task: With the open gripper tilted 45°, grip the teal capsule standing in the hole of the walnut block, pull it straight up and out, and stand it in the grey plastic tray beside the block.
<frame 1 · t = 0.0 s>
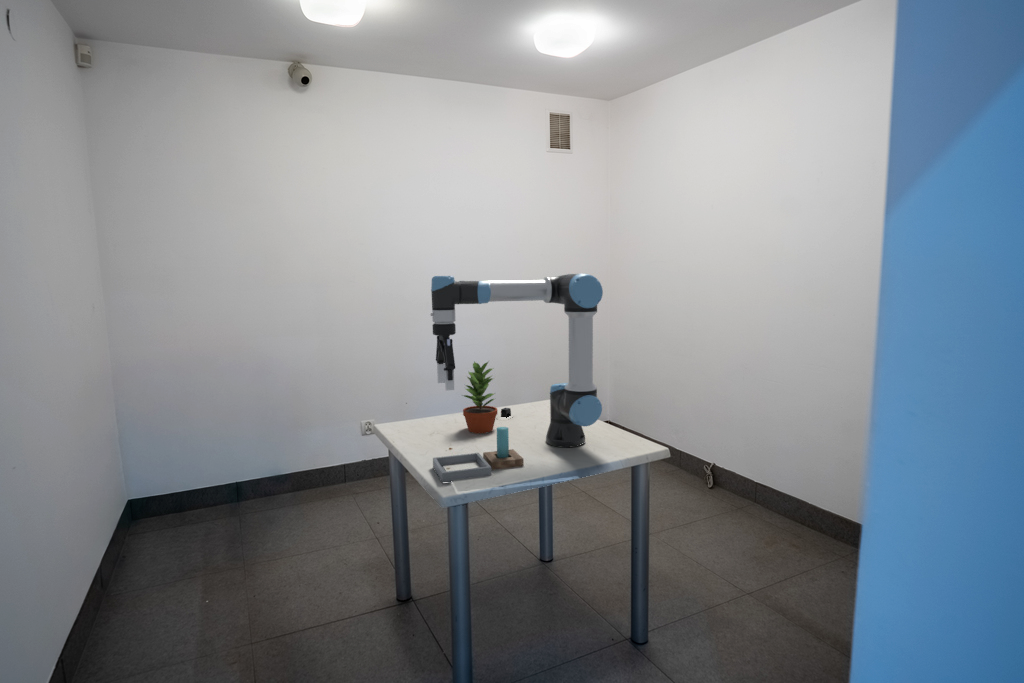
hand: (445, 386, 189), 28 cm above the table, tool pointing down, fingers open, 13 cm apart
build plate: (505, 418, 259), on the table
tray: (461, 472, 187), on the table
hole block: (503, 465, 193), on the table
teal capsule: (503, 462, 193), point 1 cm above the table, touching hole block
potted plant: (479, 430, 238), on the table
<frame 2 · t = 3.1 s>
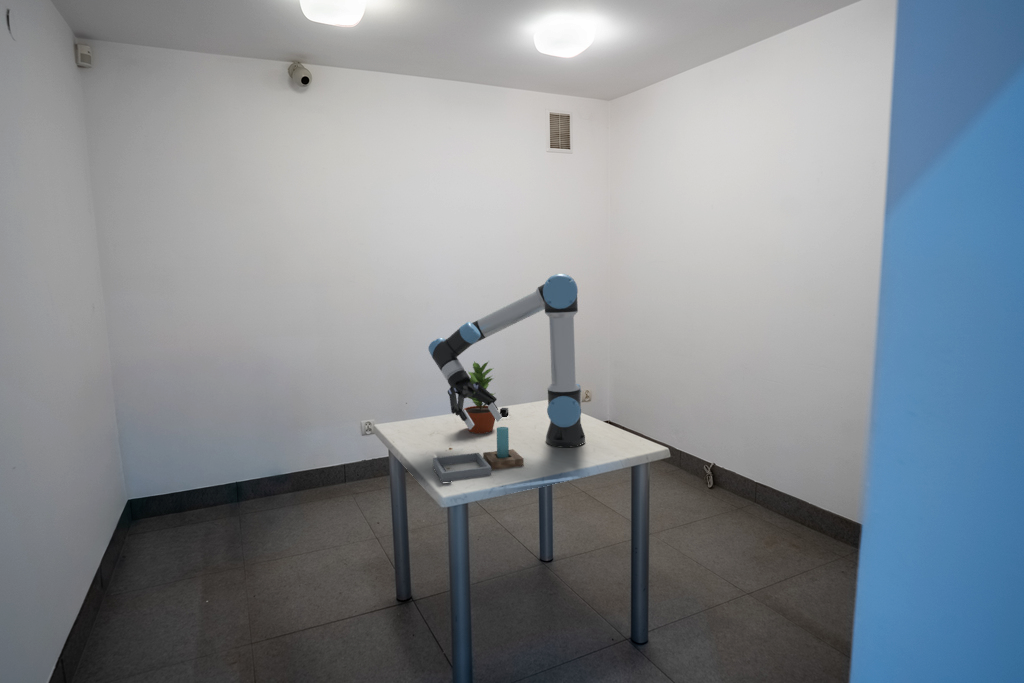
hand: (486, 423, 196), 14 cm above the table, tool tilted 45°, fingers open, 13 cm apart
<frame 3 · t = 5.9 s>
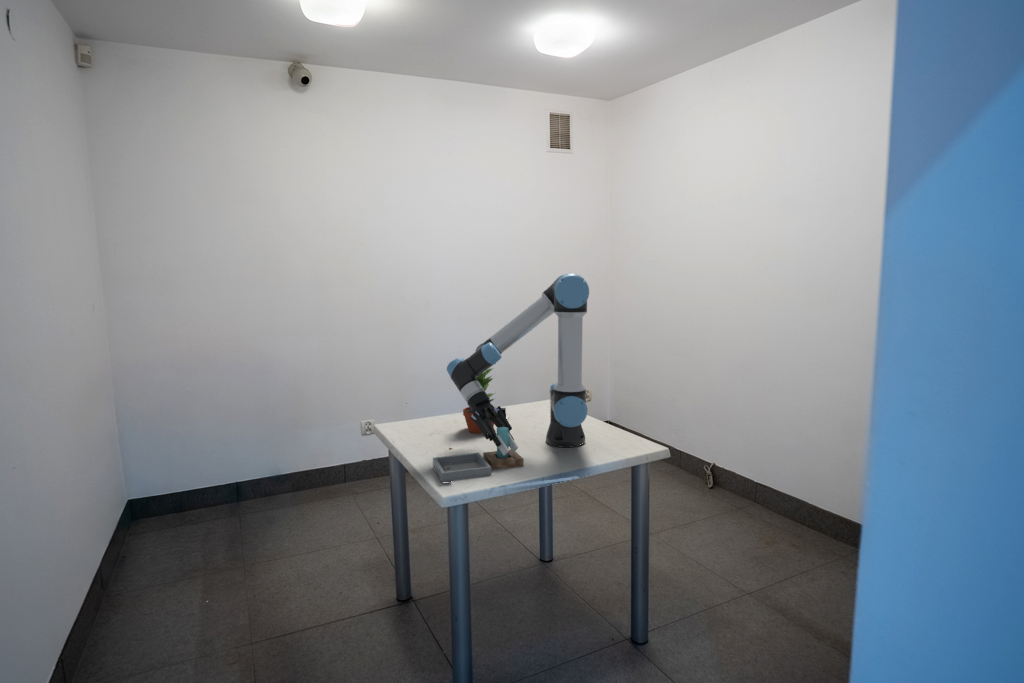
hand: (511, 451, 190), 6 cm above the table, tool tilted 45°, fingers closed on teal capsule, 4 cm apart
teal capsule: (503, 462, 193), point 1 cm above the table, touching gripper, hole block
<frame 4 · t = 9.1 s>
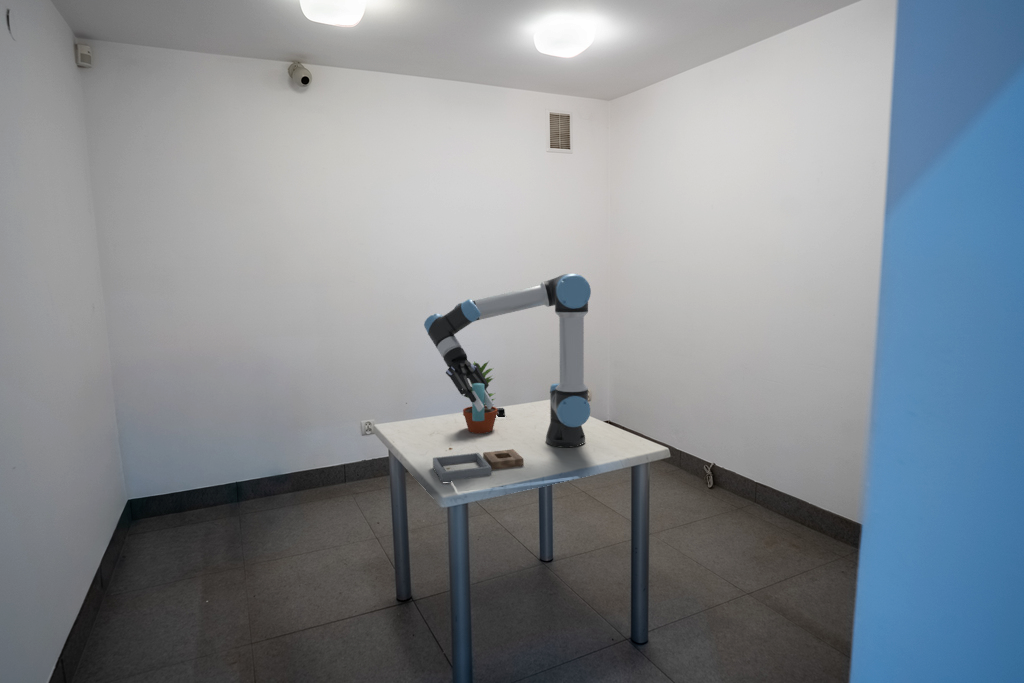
hand: (486, 407, 185), 21 cm above the table, tool tilted 45°, fingers closed on teal capsule, 4 cm apart
teal capsule: (478, 419, 188), point 17 cm above the table, touching gripper
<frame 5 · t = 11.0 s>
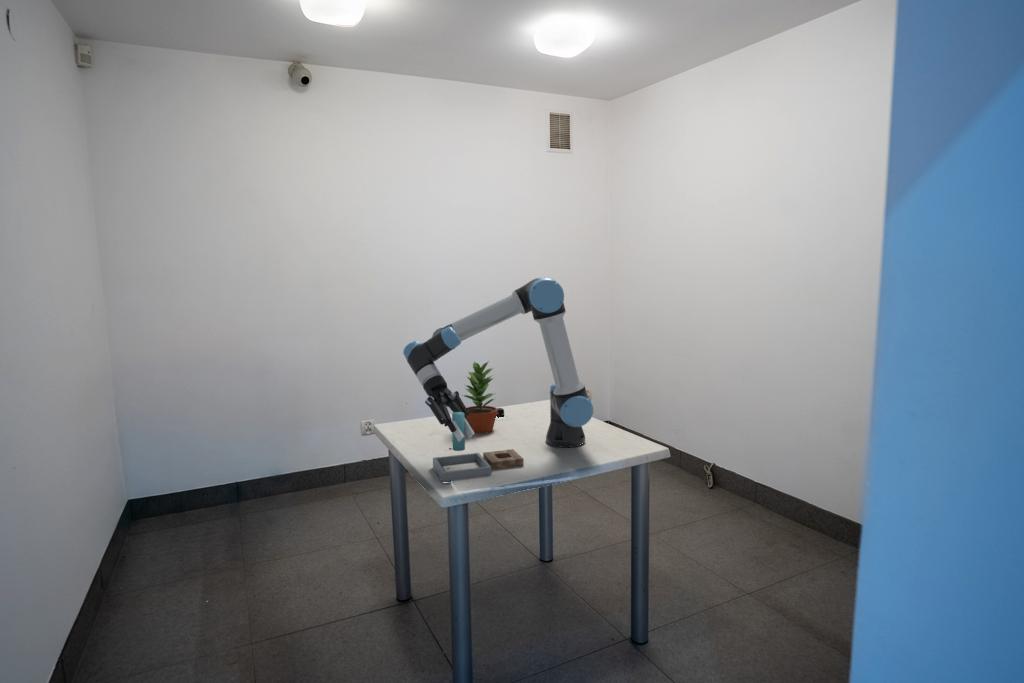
hand: (466, 437, 183), 13 cm above the table, tool tilted 45°, fingers closed on teal capsule, 4 cm apart
teal capsule: (458, 449, 186), point 8 cm above the table, touching gripper
when the fingers open (7 cm above the table, at t = 12.3 s): teal capsule drops 1 cm, resting on tray.
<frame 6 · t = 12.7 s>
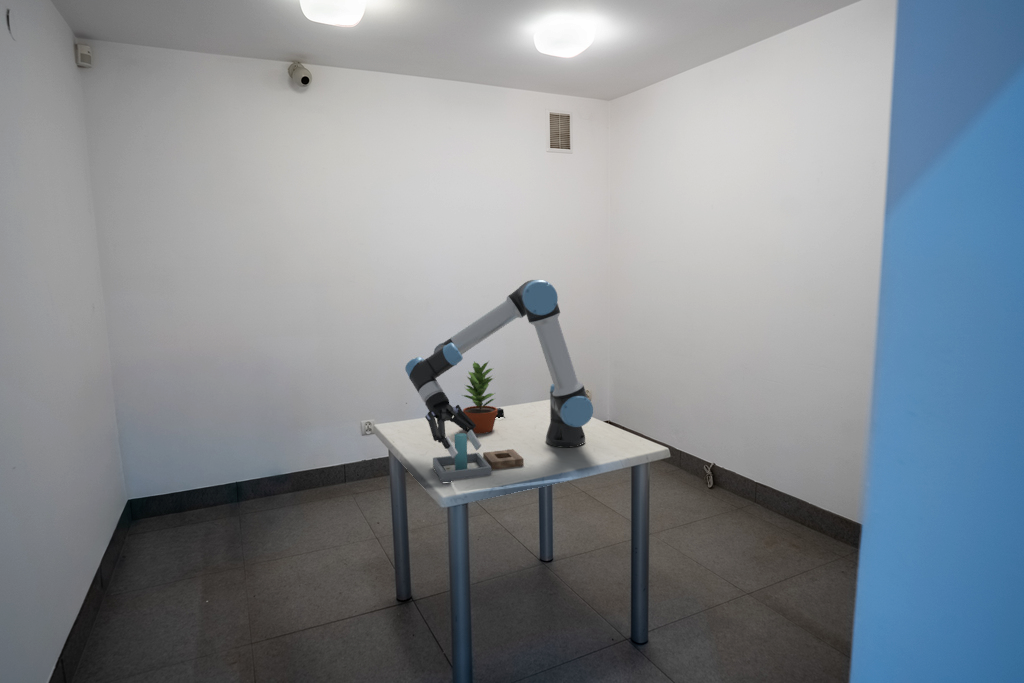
hand: (467, 451, 184), 8 cm above the table, tool tilted 45°, fingers open, 10 cm apart
teal capsule: (461, 470, 187), point 1 cm above the table, touching tray
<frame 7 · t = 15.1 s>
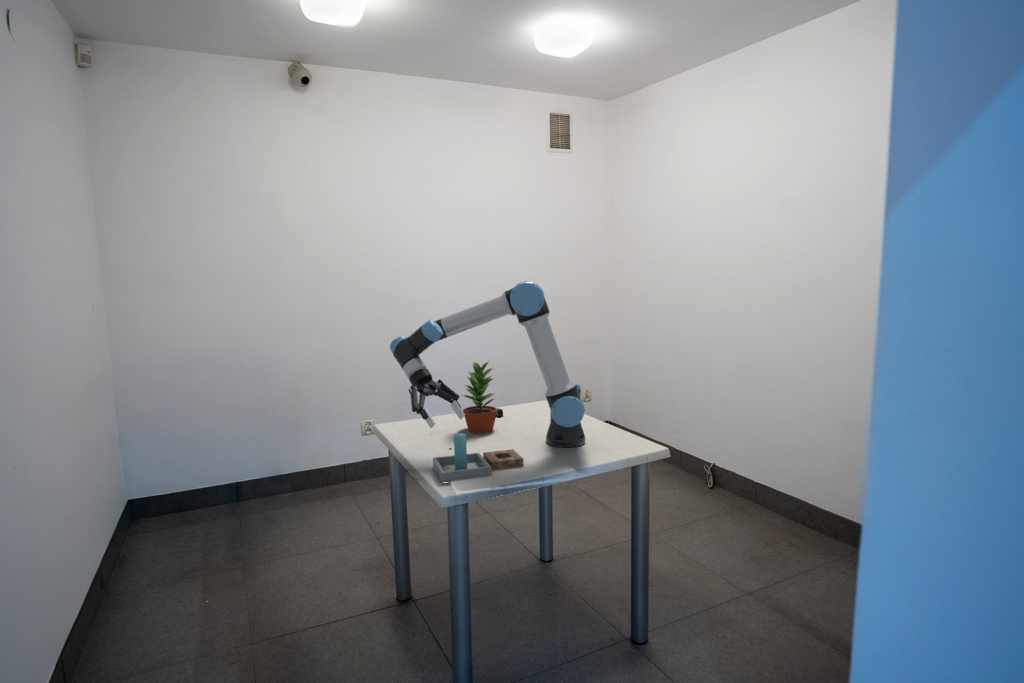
hand: (448, 421, 193), 15 cm above the table, tool tilted 45°, fingers open, 13 cm apart
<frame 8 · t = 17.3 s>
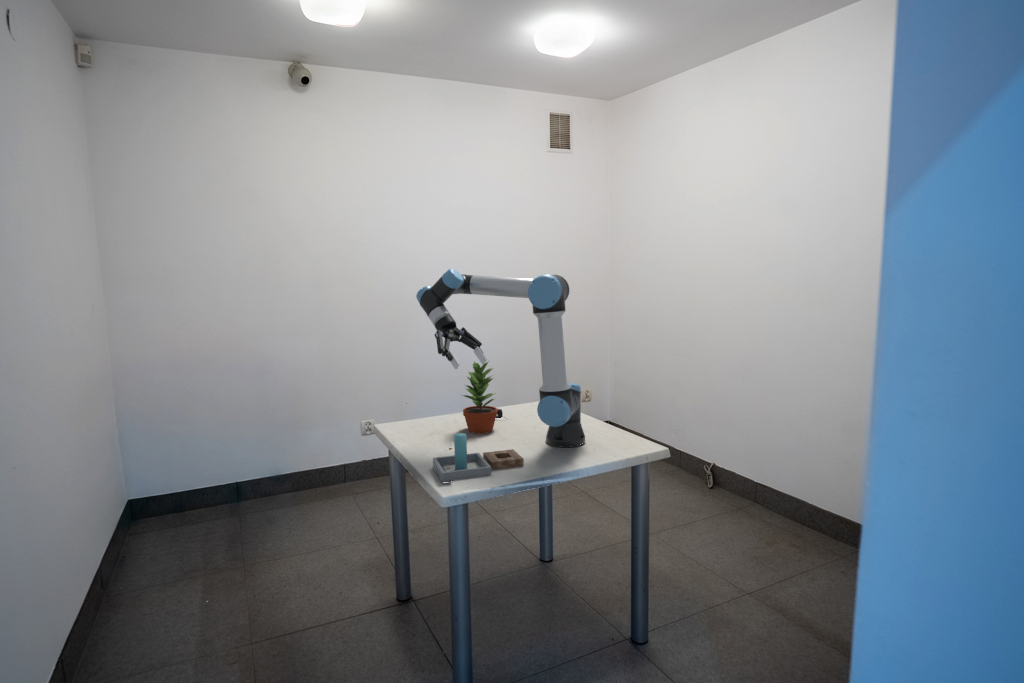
hand: (471, 364, 205), 33 cm above the table, tool tilted 45°, fingers open, 13 cm apart
at the end: teal capsule inside the target area on the tray (0.1 cm from its centre), point 0.8 cm above the tray's base; the gripper is holding nothing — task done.
